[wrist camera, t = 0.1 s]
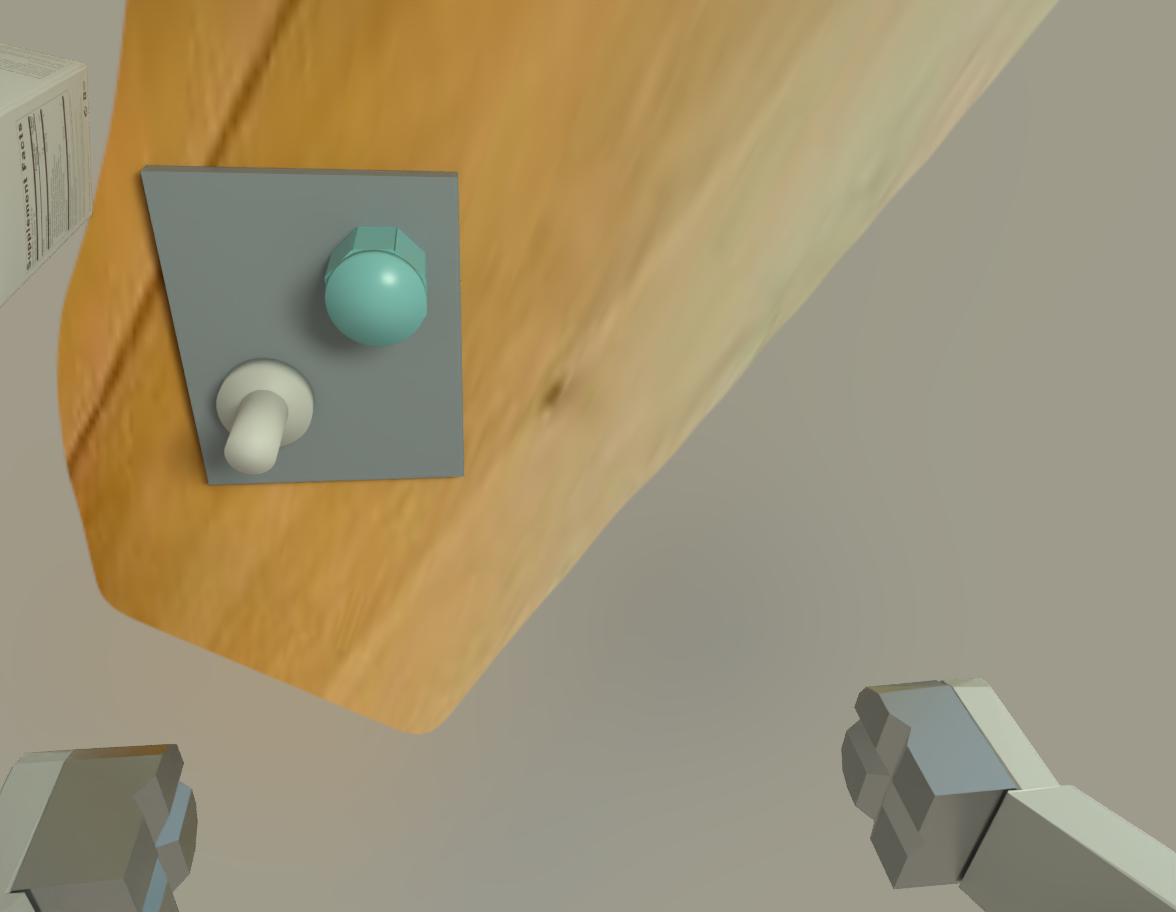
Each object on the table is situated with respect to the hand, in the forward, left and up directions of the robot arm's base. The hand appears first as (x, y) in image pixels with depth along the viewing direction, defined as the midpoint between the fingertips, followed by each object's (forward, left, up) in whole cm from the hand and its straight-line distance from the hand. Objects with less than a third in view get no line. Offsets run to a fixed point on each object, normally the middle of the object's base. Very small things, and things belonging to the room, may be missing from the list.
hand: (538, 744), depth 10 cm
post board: (+17, -9, -48) cm, 52 cm away
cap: (+12, -5, -47) cm, 49 cm away
